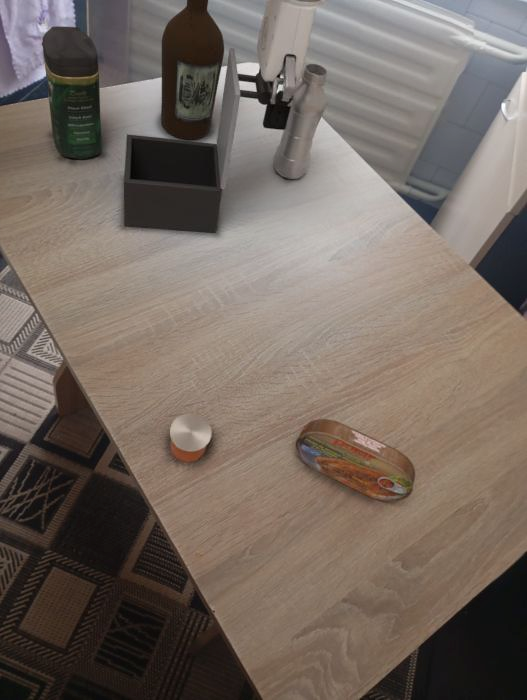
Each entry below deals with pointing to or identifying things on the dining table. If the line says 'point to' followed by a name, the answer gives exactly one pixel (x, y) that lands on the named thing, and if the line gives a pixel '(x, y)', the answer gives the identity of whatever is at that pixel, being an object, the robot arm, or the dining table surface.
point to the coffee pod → (189, 436)
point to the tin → (356, 460)
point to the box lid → (235, 110)
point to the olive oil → (190, 71)
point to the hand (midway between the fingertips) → (270, 107)
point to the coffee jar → (73, 91)
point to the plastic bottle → (301, 123)
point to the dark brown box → (171, 184)
